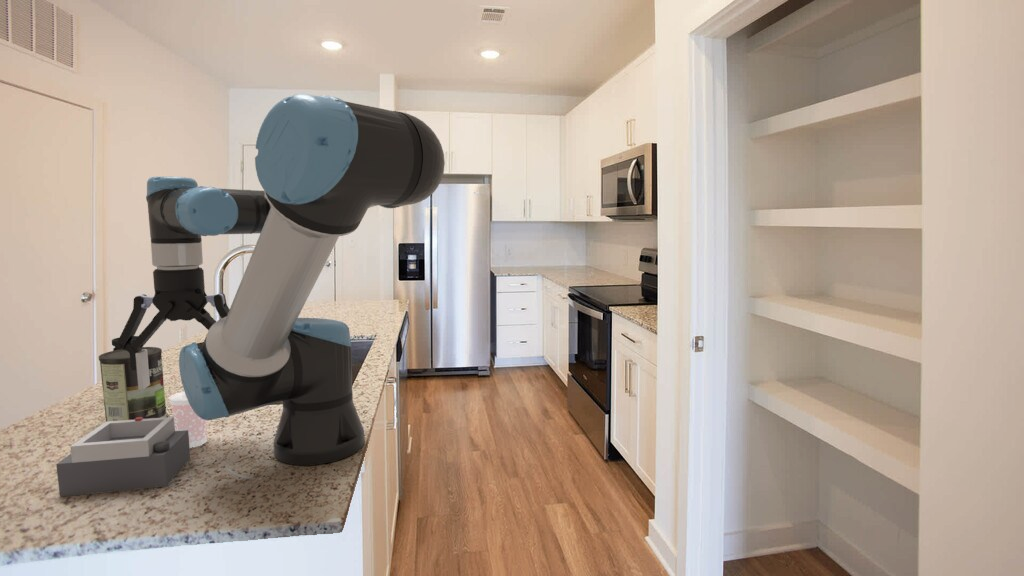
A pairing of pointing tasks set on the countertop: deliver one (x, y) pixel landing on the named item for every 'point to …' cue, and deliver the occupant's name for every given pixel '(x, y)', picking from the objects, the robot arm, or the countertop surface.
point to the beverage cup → (188, 420)
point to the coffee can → (132, 387)
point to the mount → (124, 457)
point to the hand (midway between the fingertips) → (186, 385)
